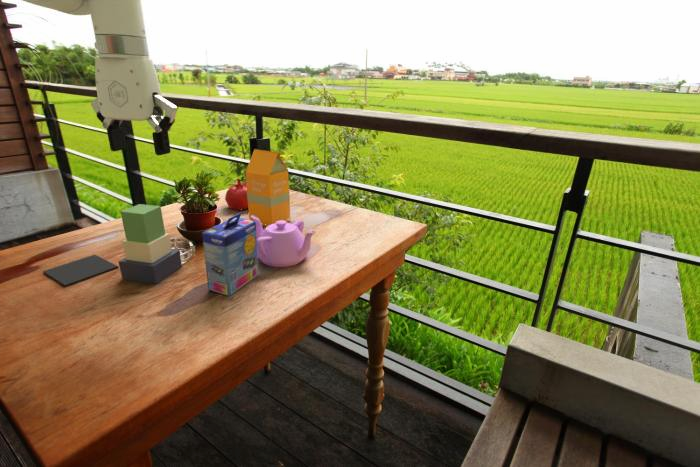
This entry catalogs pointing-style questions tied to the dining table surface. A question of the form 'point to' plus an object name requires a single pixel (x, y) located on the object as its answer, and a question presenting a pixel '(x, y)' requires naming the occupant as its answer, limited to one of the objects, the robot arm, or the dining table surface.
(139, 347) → the dining table surface
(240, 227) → the ink cartridge box
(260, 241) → the teapot
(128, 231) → the green block
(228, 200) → the pomegranate
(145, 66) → the robot arm
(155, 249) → the cream block
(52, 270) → the mat
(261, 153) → the orange juice
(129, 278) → the navy block
